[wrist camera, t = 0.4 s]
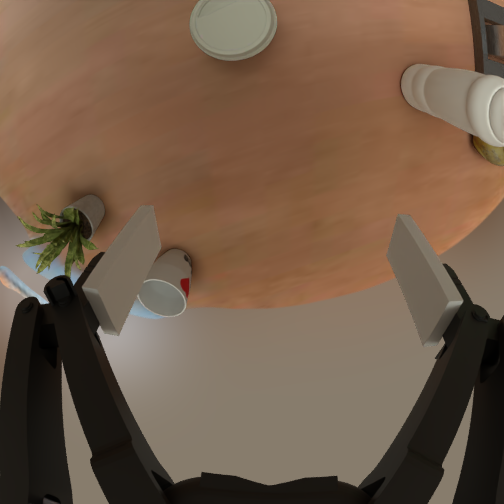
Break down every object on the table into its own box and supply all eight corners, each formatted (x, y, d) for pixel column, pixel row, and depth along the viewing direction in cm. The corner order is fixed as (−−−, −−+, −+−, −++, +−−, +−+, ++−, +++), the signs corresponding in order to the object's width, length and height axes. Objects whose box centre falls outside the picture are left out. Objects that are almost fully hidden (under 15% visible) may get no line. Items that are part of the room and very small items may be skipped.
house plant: (67, 151, 41) (4, 195, 28) (134, 181, 44) (82, 237, 31) (59, 217, 49) (10, 269, 36) (116, 245, 52) (76, 307, 39)
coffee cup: (280, 8, 28) (282, -15, 18) (272, 65, 33) (271, 64, 23) (213, 3, 28) (189, -18, 18) (207, 60, 33) (181, 59, 23)
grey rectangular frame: (467, -3, 21) (475, -5, 19) (506, 13, 20) (514, 13, 18) (475, 77, 29) (484, 79, 27) (512, 87, 27) (520, 90, 26)
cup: (195, 282, 55) (182, 322, 47) (154, 270, 55) (136, 308, 46) (203, 249, 51) (189, 288, 43) (158, 236, 50) (137, 273, 42)
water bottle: (448, 84, 31) (576, 134, 10) (426, 119, 34) (544, 193, 14) (413, 54, 29) (545, 71, 9) (390, 90, 33) (510, 138, 13)
